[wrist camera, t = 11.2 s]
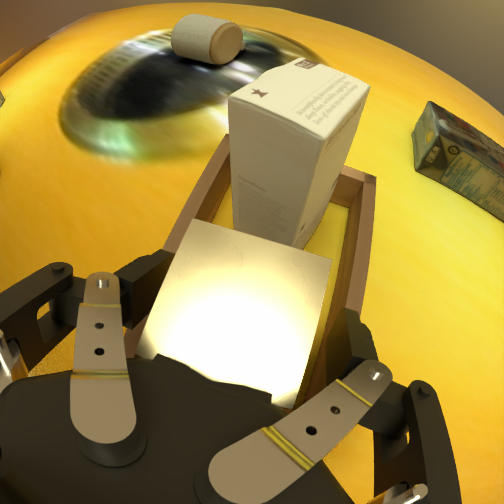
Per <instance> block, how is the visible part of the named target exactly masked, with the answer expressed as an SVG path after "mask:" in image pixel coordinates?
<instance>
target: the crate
mask: <svg viewBox="0 0 504 504" xmlns="http://www.w3.org/2000/svg"><path fill="white" fill-rule="evenodd" d="M230 182H231V166H230V144H229V134H226V135H225V136H224V138H223V139H222V141H221V143H220V144H219V146H218V148H217V149H216V151H215V153H214V154H213V156H212V158H211V159H210V161H209V163H208V164H207V166H206V168H205V170H204V171H203V173H202V175H201V177H200V178H199V180H198V182H197V184H196V185H195V187H194V189H193V191H192V193H191V195H190V196H189V198H188V200H187V202H186V204H185V206H184V207H183V209H182V211H181V213H180V215H179V217H178V219H177V221H176V223H175V225H174V227H173V229H172V231H171V233H170V235H169V237H168V239H167V241H166V243H165V245H164V247H163V250H166V251H169V252H172V253H175V254H176V252H177V250H178V248H179V246H180V244H181V241H182V239H183V237H184V235H185V233H186V231H187V229H188V227H189V225H190V223H191V221H192V219H193V218H194V219H198V220H201V221H205V222H208V223H211V222H212V220H213V218H214V216H215V213H216V211H217V209H218V207H219V205H220V203H221V201H222V199H223V196H224V194H225V192H226V190H227V188H228V186H229V184H230ZM375 194H376V177H375V176H373V175H370V174H367V173H365V172H362V171H359V170H356V169H353V168H351V167H348V166H345V165H343V168H342V170H341V173H340V176H339V178H338V180H337V183H336V186H335V188H334V191H333V193H332V196H331V198H330V202H333V203H336V204H339V205H342V206H345V207H348V208H349V212H348V219H347V225H346V232H345V238H344V243H343V249H342V254H341V260H340V265H339V270H338V275H337V280H336V285H335V289H334V294H333V298H332V303H331V307H330V311H329V315H328V319H327V324H326V327H325V331H324V335H323V339H322V343H321V347H320V350H319V354H318V357H317V361H316V364H315V368H314V371H313V375H312V378H311V381H310V384H309V388H308V391H307V394H306V397H305V400H304V403H303V404H305V403H306V402H307V401H309V400H310V399H311V398H313V397H314V396H315V395H317V394H318V393H319V392H321V391H322V390H323V389H325V388H326V352H325V344H326V340H327V337H328V334H329V332H330V330H331V328H332V326H333V324H334V321H335V319H336V317H337V315H338V313H339V311H340V309H341V308H342V307H345V308H348V309H352V310H355V311H358V314H359V318H360V314H361V309H362V304H363V298H364V292H365V286H366V280H367V273H368V266H369V259H370V251H371V242H372V233H373V222H374V210H375ZM149 315H150V313H149V314H148V315H147V316H146V317H145V318H144V319H143V320H142V321H141V322H140V323H139V324H138V325H137V326H136V327H135V328H134V329H133V330H130V329H128V328H127V330H126V333H125V335H124V347H125V356H126V358H142V357H140V356H138V355H136V354H135V351H136V348H137V346H138V343H139V340H140V338H141V335H142V333H143V330H144V327H145V325H146V322H147V320H148V317H149ZM278 407H279V406H278ZM280 408H281V409H283V410H284V411H285V412H287V413H288V414H290V413H292V412H293V411H295V410H291V409H287V408H283V407H280Z"/></svg>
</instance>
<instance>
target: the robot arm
mask: <svg viewBox="0 0 504 504" xmlns="http://www.w3.org/2000/svg"><path fill="white" fill-rule="evenodd" d="M174 257H175V253H172V252H169V251H166V250H163V249H159V250H158V251H156V252H155V253H153V254H152V255H146V256H142V257H139V258H137V259H135V260H134V261H133V262H130V263H129V264H128V265H126V266H124V267H122V268H121V269H119V270H118V271H116V272H115V273H113V274H112V273H108V272H96V273H93V274H91V275H89V276H88V277H87V279H83V278H79V277H74V276H73V267H72V266H71V265H70V264H68V263H64V262H54V263H51V264H49V265H47V266H45V267H43V268H41V269H40V270H38V271H36V272H35V273H33V274H31V275H29V276H28V277H26V278H24V279H23V280H21V281H20V282H18V283H16V284H15V285H13V286H11V287H10V288H8V289H7V290H5V291H4V292H2V293H0V504H355V503H354V502H353V501H352V499H351V498H350V497H349V496H348V494H347V493H346V492H345V490H344V489H343V488H342V486H341V485H340V484H339V482H338V481H337V480H336V478H335V477H334V475H333V474H332V473H331V471H330V470H329V469H328V467H327V466H326V464H325V463H324V462H323V460H322V459H323V458H324V457H325V456H326V455H327V454H328V453H329V452H330V451H331V450H332V449H333V448H334V447H335V446H336V445H337V444H338V443H339V442H340V441H341V440H342V439H343V438H344V437H345V436H346V435H347V434H348V433H349V432H350V431H351V430H352V429H353V428H354V427H355V426H356V424H359V425H361V426H363V427H366V428H368V429H371V430H373V440H374V498H373V499H371V500H370V501H369V502H368V503H367V504H462V501H461V493H460V486H459V480H458V475H457V469H456V464H455V459H454V455H453V450H452V446H451V442H450V438H449V434H448V430H447V426H446V423H445V419H444V416H443V413H442V409H441V406H440V403H439V400H438V397H437V394H436V392H435V390H434V389H433V387H432V386H430V385H429V384H428V383H426V382H424V381H421V380H415V381H413V382H411V384H410V385H409V386H408V388H407V387H405V386H403V385H400V384H398V383H396V382H394V381H392V379H393V376H392V373H391V371H390V369H389V368H388V367H387V366H386V365H384V364H383V363H381V362H379V360H378V356H377V353H376V349H375V346H374V342H373V340H372V335H371V332H370V330H369V329H368V328H367V326H366V325H365V324H363V323H361V321H360V318H359V314H358V311H355V310H352V309H348V308H345V307H342V308H341V309H340V311H339V313H338V315H337V317H336V319H335V321H334V324H333V326H332V328H331V330H330V332H329V334H328V337H327V340H326V344H325V352H326V388H325V389H323V390H322V391H321V392H319V393H318V394H317V395H315V396H314V397H313V398H311V399H310V400H309V401H307V402H306V403H305V404H303V405H302V406H300V407H299V408H297V409H296V410H295V411H293V412H292V413H290V414H288V413H287V412H285V411H284V410H283V409H281V408H280V407H278V406H277V405H275V404H273V403H271V400H272V395H273V394H272V393H268V392H265V391H261V390H258V389H254V388H251V387H248V386H245V385H238V384H231V383H224V382H217V381H212V380H209V379H207V378H206V377H204V376H203V375H201V374H199V373H198V372H196V371H195V370H193V369H191V368H190V367H188V366H187V365H185V364H183V363H181V362H178V361H176V360H174V359H171V358H169V357H166V356H164V355H162V354H160V353H157V355H156V356H155V357H154V358H153V360H152V359H146V358H126V356H125V347H124V338H123V328H122V326H124V327H126V328H128V329H130V330H133V329H134V328H135V327H136V326H137V325H138V324H139V323H140V322H141V321H142V320H143V319H144V318H145V317H146V316H147V315H148V314H149V313H150V312H151V310H152V307H153V305H154V303H155V300H156V298H157V295H158V293H159V291H160V288H161V286H162V284H163V281H164V279H165V277H166V274H167V272H168V270H169V268H170V265H171V263H172V261H173V259H174ZM47 302H49V308H50V311H49V312H47V313H46V314H45V315H43V316H42V317H41V318H40V319H38V320H37V312H38V310H39V308H40V307H41V306H43V305H44V304H45V303H47ZM75 328H76V337H75V350H74V367H73V370H68V371H63V372H57V373H51V374H46V375H40V376H33V377H28V373H29V372H30V371H31V370H32V369H33V368H34V367H35V366H36V365H37V364H38V363H39V362H40V361H41V360H42V359H43V358H44V357H45V356H46V355H47V354H48V353H49V352H50V351H51V350H52V349H53V348H54V347H55V346H56V345H57V344H58V343H60V342H61V341H62V340H63V339H64V338H65V337H66V336H67V335H68V334H69V333H70V332H71V331H72V330H74V329H75ZM408 432H409V436H410V439H409V443H407V436H406V433H408Z"/></svg>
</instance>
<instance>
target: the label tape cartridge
mask: <svg viewBox="0 0 504 504" xmlns="http://www.w3.org/2000/svg"><path fill="white" fill-rule="evenodd" d="M4 101H5V99H4V97H3V95H2V93H1V91H0V107H1V106H2V104H3V102H4Z"/></svg>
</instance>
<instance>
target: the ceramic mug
mask: <svg viewBox="0 0 504 504" xmlns="http://www.w3.org/2000/svg"><path fill="white" fill-rule="evenodd" d="M245 44H246V42H243V34H242V30H241V28H240V27H239V26H238V25H237V24H235V23H233V22H230V21H228V20H224V19H219V18H214V17H210V16H205V15H200V14H190V15H187V16H185V17H183V18H182V19H181V20H180V21H179V22H178V23H177V24H176V26H175V27H174V29H173V31H172V35H171V46H172V49H173V51H174V52H175V53H176V54H177V55H179V56H181V57H185V58H189V59H194V60H198V61H203V62H206V63H210V64H225V63H227V62H229V61H231V60H232V59H233V58H234V57H235V56H236V55H237V54H238V52H239V50H244V48H245Z"/></svg>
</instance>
